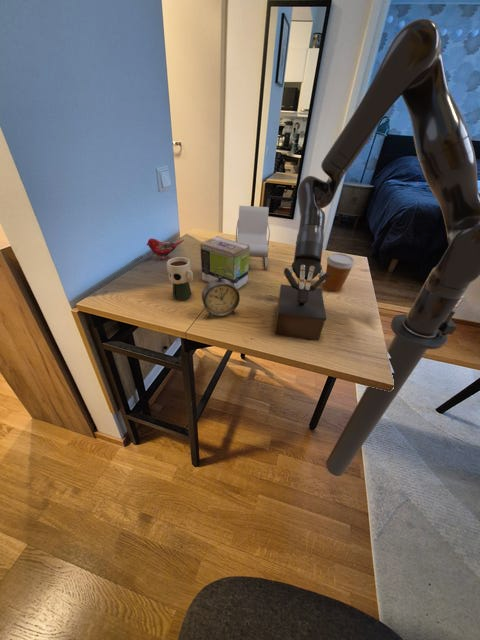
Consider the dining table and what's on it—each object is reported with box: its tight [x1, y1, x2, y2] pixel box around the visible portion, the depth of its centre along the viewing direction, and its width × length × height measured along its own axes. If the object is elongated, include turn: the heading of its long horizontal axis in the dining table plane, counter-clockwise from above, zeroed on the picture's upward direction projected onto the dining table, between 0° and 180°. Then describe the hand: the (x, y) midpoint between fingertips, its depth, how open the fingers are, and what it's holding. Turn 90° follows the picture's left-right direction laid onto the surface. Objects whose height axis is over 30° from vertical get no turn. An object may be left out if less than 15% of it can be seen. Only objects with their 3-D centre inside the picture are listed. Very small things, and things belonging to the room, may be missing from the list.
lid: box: [278, 283, 327, 322], centre depth 75 cm, size 16×13×1 cm
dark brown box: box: [274, 292, 326, 341], centre depth 78 cm, size 15×13×8 cm
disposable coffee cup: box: [323, 252, 355, 293], centre depth 95 cm, size 10×10×12 cm
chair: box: [235, 205, 271, 270], centre depth 110 cm, size 13×25×20 cm, turn 178°
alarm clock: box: [201, 267, 241, 319], centre depth 77 cm, size 11×5×16 cm, turn 106°
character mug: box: [166, 256, 194, 301], centre depth 85 cm, size 11×7×13 cm, turn 57°
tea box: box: [199, 235, 250, 290], centre depth 95 cm, size 15×10×15 cm
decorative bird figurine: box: [146, 237, 185, 261], centre depth 110 cm, size 3×18×10 cm, turn 132°
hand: (302, 303), depth 72 cm, fingers closed
